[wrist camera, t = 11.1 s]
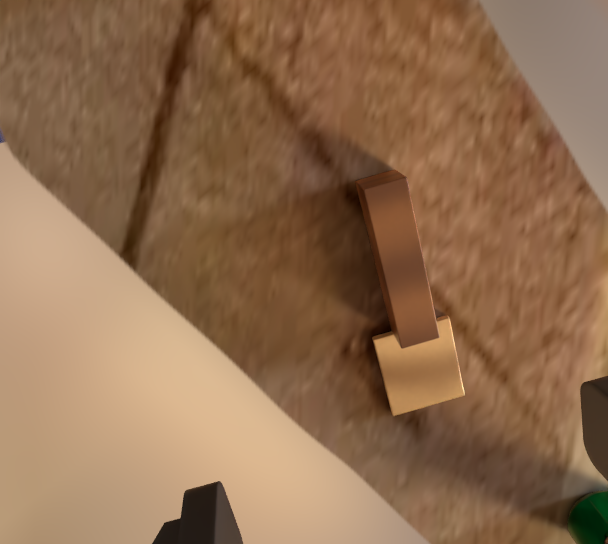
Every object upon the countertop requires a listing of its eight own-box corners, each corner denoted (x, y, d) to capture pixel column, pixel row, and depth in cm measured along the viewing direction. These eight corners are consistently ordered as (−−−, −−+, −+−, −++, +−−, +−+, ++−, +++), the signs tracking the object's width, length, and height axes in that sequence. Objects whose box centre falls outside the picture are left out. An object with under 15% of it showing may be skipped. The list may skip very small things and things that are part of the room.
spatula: (332, 187, 31) (339, 196, 28) (416, 162, 31) (430, 169, 28) (391, 412, 36) (401, 435, 34) (462, 391, 36) (476, 413, 34)
